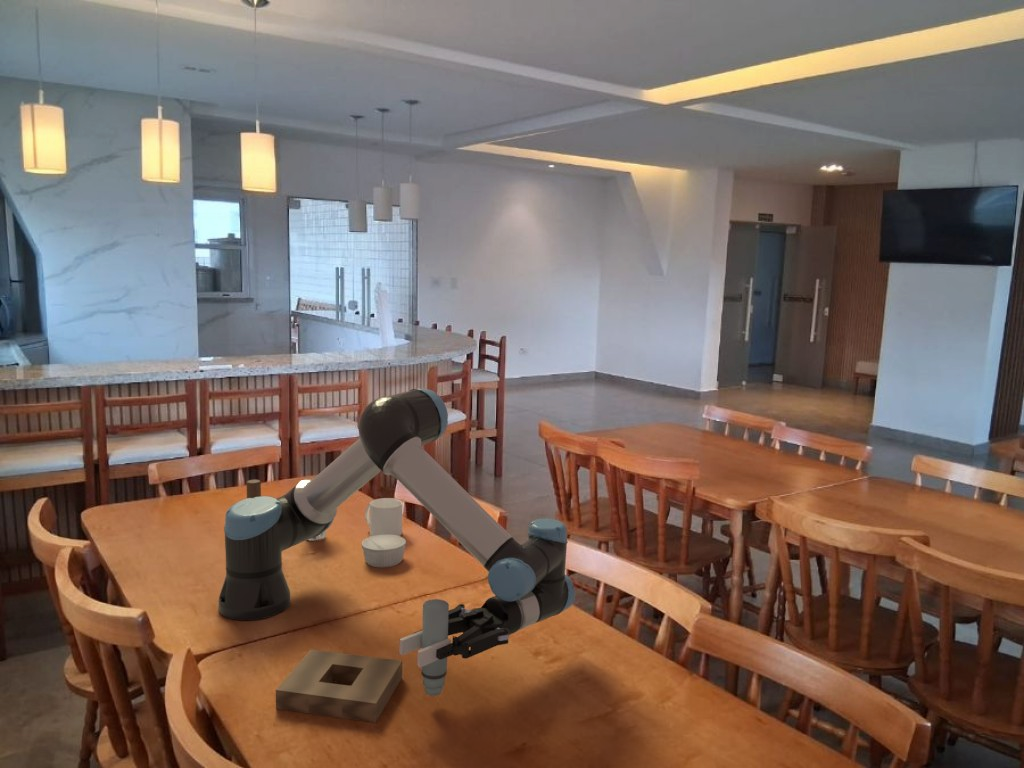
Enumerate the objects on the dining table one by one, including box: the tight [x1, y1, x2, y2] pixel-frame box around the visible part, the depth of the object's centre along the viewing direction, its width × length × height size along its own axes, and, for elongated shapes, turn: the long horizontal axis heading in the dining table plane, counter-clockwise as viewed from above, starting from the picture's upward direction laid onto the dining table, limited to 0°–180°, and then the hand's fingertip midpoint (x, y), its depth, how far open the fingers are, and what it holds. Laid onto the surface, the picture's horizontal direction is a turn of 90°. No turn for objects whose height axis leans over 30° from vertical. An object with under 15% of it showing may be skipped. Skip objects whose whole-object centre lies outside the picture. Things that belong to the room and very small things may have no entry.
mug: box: [364, 497, 403, 537], centre depth 212 cm, size 12×9×9 cm
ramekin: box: [361, 535, 407, 569], centre depth 193 cm, size 11×11×5 cm
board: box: [275, 649, 403, 724], centre depth 133 cm, size 18×14×4 cm
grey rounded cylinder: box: [420, 598, 450, 697], centre depth 129 cm, size 4×4×16 cm
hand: (409, 653), depth 125 cm, fingers closed on grey rounded cylinder, 4 cm apart
